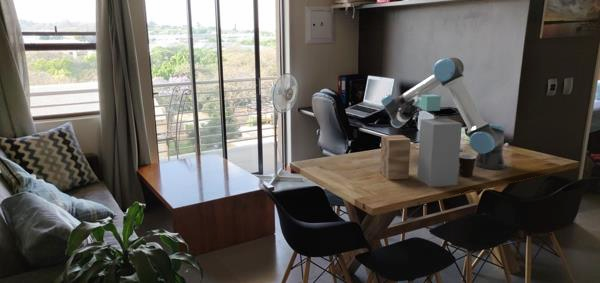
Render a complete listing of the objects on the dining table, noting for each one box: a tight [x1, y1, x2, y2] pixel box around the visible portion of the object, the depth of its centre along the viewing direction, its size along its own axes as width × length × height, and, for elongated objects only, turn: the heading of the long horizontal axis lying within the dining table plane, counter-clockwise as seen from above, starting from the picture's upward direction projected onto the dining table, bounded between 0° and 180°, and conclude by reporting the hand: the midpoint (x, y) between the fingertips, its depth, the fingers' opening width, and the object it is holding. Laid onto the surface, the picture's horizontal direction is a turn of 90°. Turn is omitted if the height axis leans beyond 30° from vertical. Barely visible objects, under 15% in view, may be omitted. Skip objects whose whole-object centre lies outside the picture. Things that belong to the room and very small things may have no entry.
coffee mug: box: [458, 154, 477, 178], centre depth 229 cm, size 12×9×10 cm
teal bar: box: [412, 94, 442, 112], centre depth 227 cm, size 21×7×7 cm, turn 9°
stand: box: [417, 117, 463, 188], centre depth 216 cm, size 14×14×30 cm
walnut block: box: [379, 134, 411, 180], centre depth 227 cm, size 11×11×20 cm
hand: (422, 97), depth 230 cm, fingers closed on teal bar, 4 cm apart
